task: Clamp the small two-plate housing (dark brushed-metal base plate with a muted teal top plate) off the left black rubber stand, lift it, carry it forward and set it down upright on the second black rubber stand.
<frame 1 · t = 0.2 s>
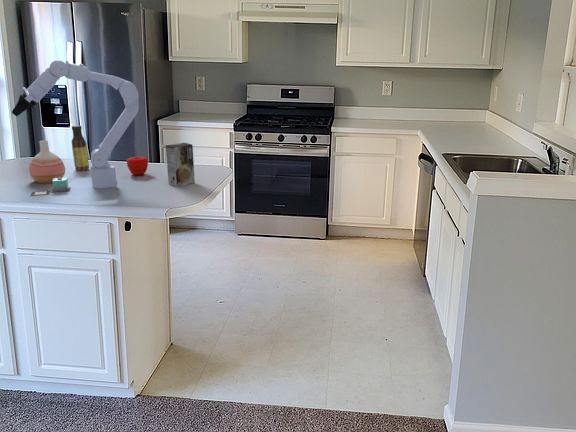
hand: (15, 113, 206), 31 cm above the countertop, tool tilted 45°, fingers open, 7 cm apart
stand a: (61, 193, 217), on the countertop
sauce bottle: (82, 169, 258), on the countertop
housing: (61, 189, 216), point 1 cm above the countertop, touching stand a
stand b: (41, 196, 212), on the countertop
vase: (49, 184, 231), on the countertop
coffee box: (181, 184, 232), on the countertop
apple: (138, 175, 247), on the countertop
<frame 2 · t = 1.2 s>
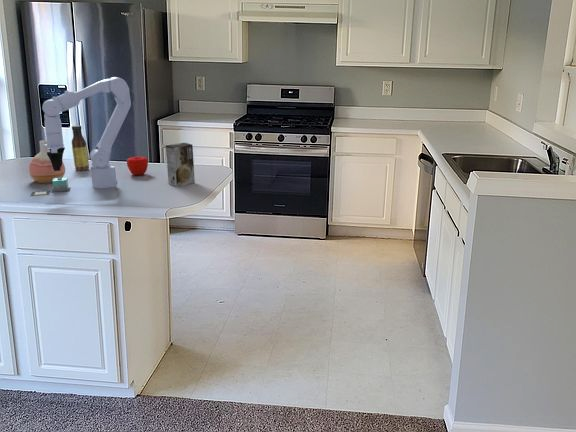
hand: (58, 168, 214), 10 cm above the countertop, tool pointing down, fingers open, 7 cm apart
nothing on the countertop moved.
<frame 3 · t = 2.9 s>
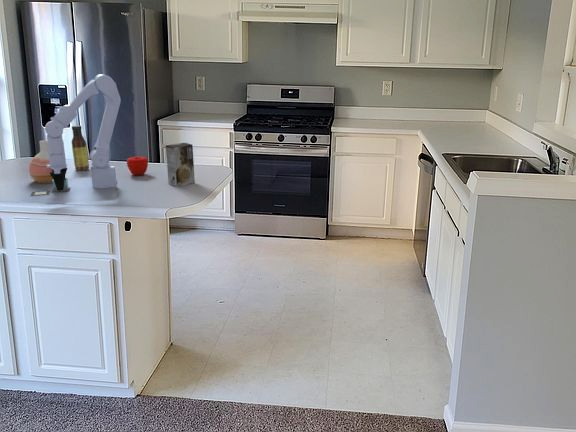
hand: (60, 188, 216), 2 cm above the countertop, tool pointing down, fingers closed on housing, 5 cm apart
housing: (61, 189, 216), point 1 cm above the countertop, touching gripper, stand a
everything else where it was.
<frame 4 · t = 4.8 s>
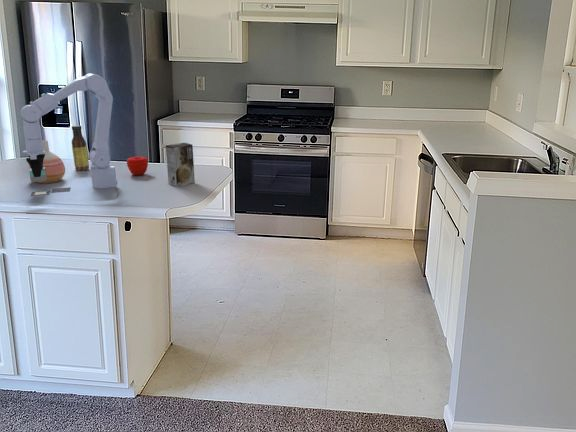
hand: (38, 175, 209), 8 cm above the countertop, tool pointing down, fingers closed on housing, 5 cm apart
housing: (38, 180, 210), point 6 cm above the countertop, touching gripper
everything else where it was.
when the fingers open (3 cm above the countertop, at t = 6.5 s): housing stays where it is, resting on stand b.
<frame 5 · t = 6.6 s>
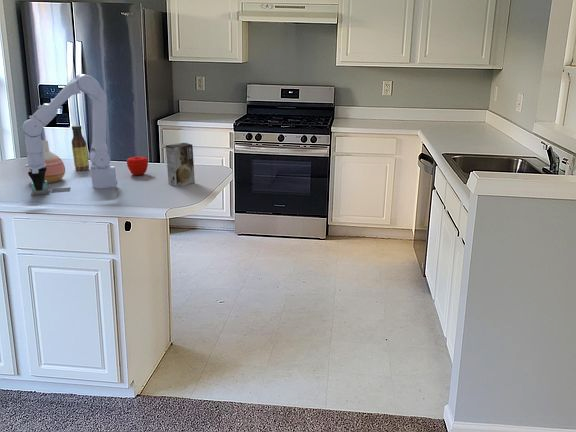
hand: (40, 188, 211), 3 cm above the countertop, tool pointing down, fingers open, 5 cm apart
housing: (40, 193, 211), point 1 cm above the countertop, touching stand b
everything else where it was.
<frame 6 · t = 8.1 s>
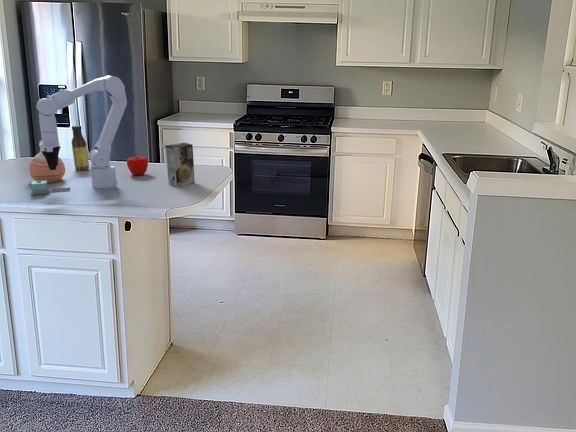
hand: (53, 167, 212), 10 cm above the countertop, tool pointing down, fingers open, 7 cm apart
nothing on the countertop moved.
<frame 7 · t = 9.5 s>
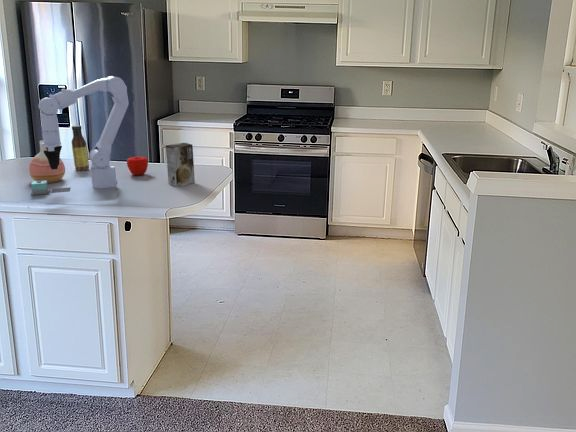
hand: (55, 167, 212), 10 cm above the countertop, tool pointing down, fingers open, 7 cm apart
nothing on the countertop moved.
at the end: housing 0.0 cm off-centre on the stand b, point 1.3 cm above the stand b's base; housing tilted 0°; the gripper is holding nothing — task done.
